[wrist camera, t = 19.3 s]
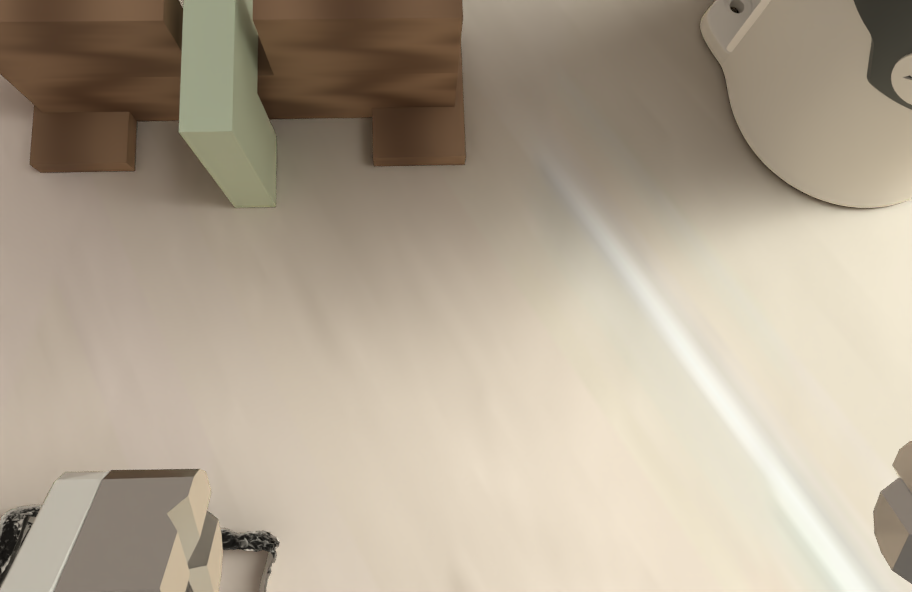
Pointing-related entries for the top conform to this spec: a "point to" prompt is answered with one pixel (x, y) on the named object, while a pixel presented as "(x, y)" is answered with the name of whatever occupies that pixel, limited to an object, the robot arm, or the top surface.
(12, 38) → the walnut slotted board
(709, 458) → the top surface
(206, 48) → the green slotted plate
